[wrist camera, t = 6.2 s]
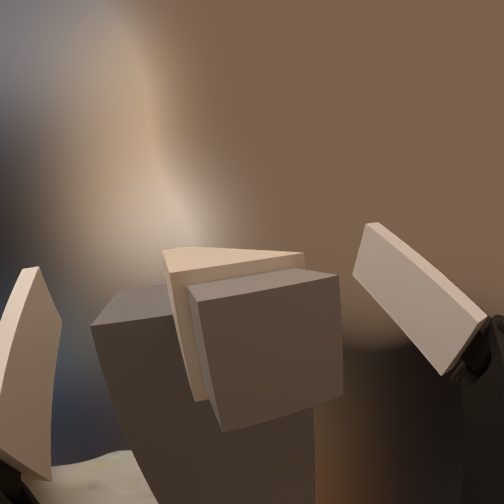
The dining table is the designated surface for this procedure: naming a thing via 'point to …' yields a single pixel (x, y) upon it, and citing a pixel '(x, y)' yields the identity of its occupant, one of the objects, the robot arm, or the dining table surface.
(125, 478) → the dining table surface
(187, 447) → the stand
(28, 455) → the robot arm
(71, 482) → the dining table surface
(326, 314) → the beige square bar
